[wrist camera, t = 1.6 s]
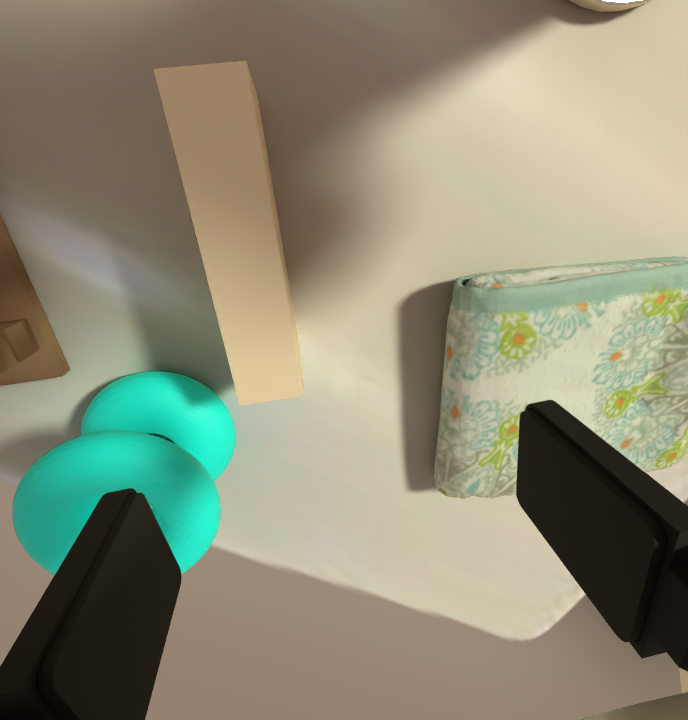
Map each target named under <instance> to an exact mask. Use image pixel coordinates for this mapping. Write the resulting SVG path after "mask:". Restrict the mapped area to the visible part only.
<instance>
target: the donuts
mask: <svg viewBox="0 0 688 720" xmlns="http://www.w3.org/2000/svg"><path fill="white" fill-rule="evenodd" d="M149 433H155V434H160V435H163V436H166V437H168V438H169V439H171V440H172V441H173V442H174V443H175V444H174V443H172V442H170V441H168V440H165V439H163V438H160V437H157V436H153V435H149ZM235 437H236V436H235V427H234V423H233V420H232V417H231V414H230V412H229V410H228V409H227V407H226V405H225V404H224V403H223V401H222V400H221V399H220V398H219V397H218V396H217V395H216V394H215V393H214V392H213V391H212V390H210V389H209V388H208V387H206V386H205V385H203V384H201V383H200V382H198V381H196V380H194V379H191V378H189V377H186V376H183V375H180V374H175V373H170V372H162V371H149V372H140V373H135V374H131V375H128V376H125V377H123V378H120V379H118V380H116V381H114V382H112V383H111V384H109V385H108V386H106V387H105V388H104V389H102V390H101V391H100V392H99V393H98V394H97V395H96V396H95V397H94V399H93V400H92V401H91V402H90V404H89V406H88V407H87V409H86V412H85V414H84V417H83V420H82V424H81V436H80V437H77V438H74V439H71V440H69V441H66V442H64V443H62V444H60V445H58V446H57V447H55V448H53V449H52V450H50V451H49V452H47V453H46V454H44V455H43V456H42V457H41V458H39V459H38V460H37V461H36V462H35V463H34V464H33V465H32V466H31V468H30V469H29V470H28V471H27V472H26V474H25V475H24V477H23V478H22V480H21V482H20V484H19V486H18V488H17V491H16V493H15V497H14V501H13V524H14V528H15V532H16V534H17V536H18V539H19V541H20V542H21V544H22V545H23V547H24V549H25V550H26V551H27V553H28V554H29V555H30V556H31V557H32V558H33V559H34V560H35V561H36V562H37V563H38V564H39V565H40V566H41V567H43V568H44V569H46V570H47V571H49V572H50V573H52V574H54V575H55V574H56V572H57V571H58V569H59V567H60V566H61V564H62V562H63V561H64V559H65V557H66V556H67V554H68V552H69V550H70V549H71V547H72V545H73V544H74V542H75V540H76V539H77V537H78V535H79V534H80V532H81V530H82V529H83V527H84V525H85V524H86V522H87V520H88V519H89V517H90V515H91V514H92V512H93V510H94V509H95V507H96V505H97V503H98V502H99V500H100V498H101V497H102V496H103V495H104V494H106V493H109V492H114V491H118V490H123V489H128V488H133V489H134V490H136V492H137V493H139V492H140V493H143V494H144V495H145V497H146V499H147V501H148V503H149V505H150V506H151V507H153V508H151V509H152V511H153V513H154V516H155V518H156V520H157V522H158V524H159V526H160V528H161V530H162V532H163V534H164V536H165V538H166V540H167V542H168V544H169V546H170V548H171V550H172V552H173V554H174V556H175V558H176V561H177V563H178V565H179V567H180V570H181V574H182V573H184V572H185V571H187V570H188V569H189V568H191V567H192V566H193V565H194V564H195V563H196V562H197V561H198V560H199V559H200V558H201V557H202V556H203V555H204V554H205V553H206V551H207V550H208V549H209V547H210V545H211V543H212V542H213V540H214V538H215V536H216V533H217V530H218V526H219V522H220V515H221V508H220V498H219V494H218V491H217V488H216V486H215V483H214V480H216V479H217V478H218V477H219V476H220V475H221V474H222V472H223V471H224V470H225V468H226V467H227V465H228V463H229V462H230V460H231V457H232V455H233V451H234V447H235Z"/></svg>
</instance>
